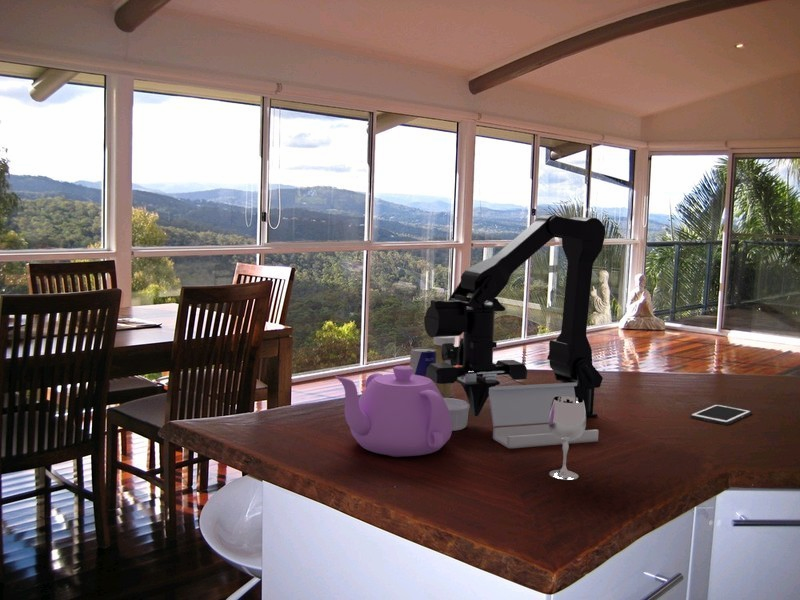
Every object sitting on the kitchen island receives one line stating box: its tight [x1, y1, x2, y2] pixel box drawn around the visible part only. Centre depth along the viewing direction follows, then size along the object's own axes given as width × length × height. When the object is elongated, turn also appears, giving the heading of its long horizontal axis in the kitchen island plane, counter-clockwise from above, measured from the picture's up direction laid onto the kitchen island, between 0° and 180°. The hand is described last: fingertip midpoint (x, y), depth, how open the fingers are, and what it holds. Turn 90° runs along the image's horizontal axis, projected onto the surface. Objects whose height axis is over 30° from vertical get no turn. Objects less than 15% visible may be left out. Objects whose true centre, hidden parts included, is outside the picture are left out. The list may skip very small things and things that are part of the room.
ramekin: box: [443, 397, 471, 432], centre depth 149 cm, size 9×9×4 cm
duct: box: [492, 423, 600, 449], centre depth 142 cm, size 18×6×2 cm, turn 111°
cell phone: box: [689, 403, 752, 426], centre depth 165 cm, size 8×15×1 cm, turn 137°
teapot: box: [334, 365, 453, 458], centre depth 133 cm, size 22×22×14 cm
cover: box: [488, 382, 577, 428], centre depth 145 cm, size 18×7×2 cm
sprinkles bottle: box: [433, 336, 456, 398], centre depth 172 cm, size 5×5×14 cm
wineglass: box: [547, 396, 587, 481], centre depth 123 cm, size 6×6×12 cm
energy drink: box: [409, 347, 437, 385], centre depth 162 cm, size 5×5×12 cm
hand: (475, 415), depth 151 cm, fingers closed
